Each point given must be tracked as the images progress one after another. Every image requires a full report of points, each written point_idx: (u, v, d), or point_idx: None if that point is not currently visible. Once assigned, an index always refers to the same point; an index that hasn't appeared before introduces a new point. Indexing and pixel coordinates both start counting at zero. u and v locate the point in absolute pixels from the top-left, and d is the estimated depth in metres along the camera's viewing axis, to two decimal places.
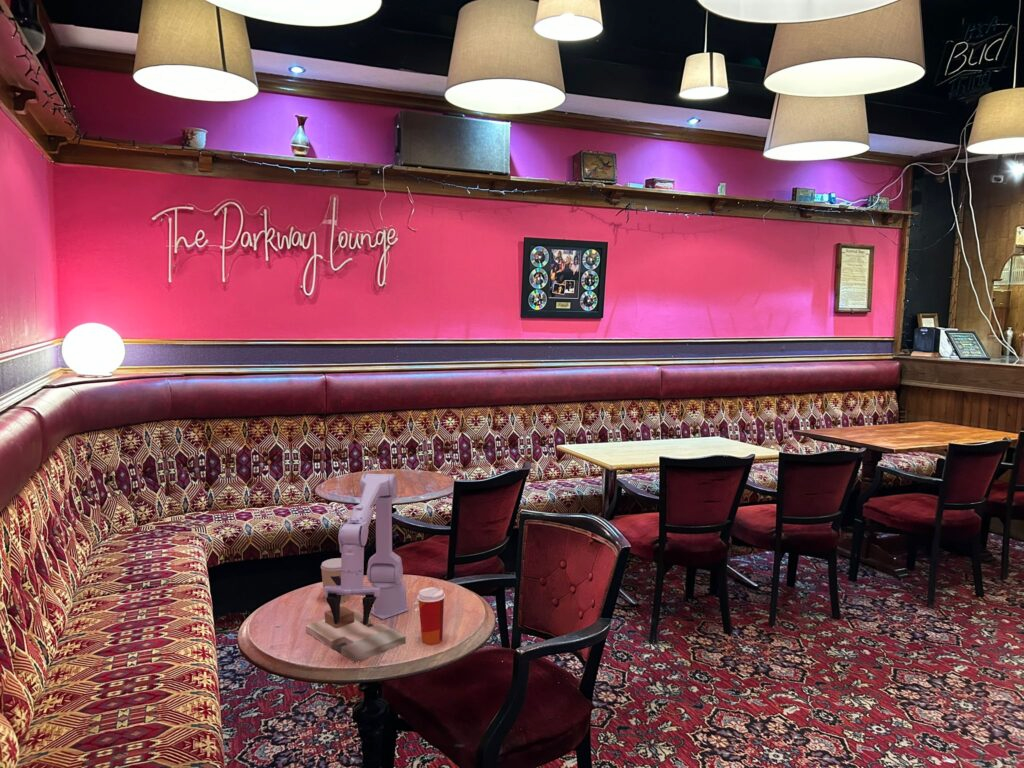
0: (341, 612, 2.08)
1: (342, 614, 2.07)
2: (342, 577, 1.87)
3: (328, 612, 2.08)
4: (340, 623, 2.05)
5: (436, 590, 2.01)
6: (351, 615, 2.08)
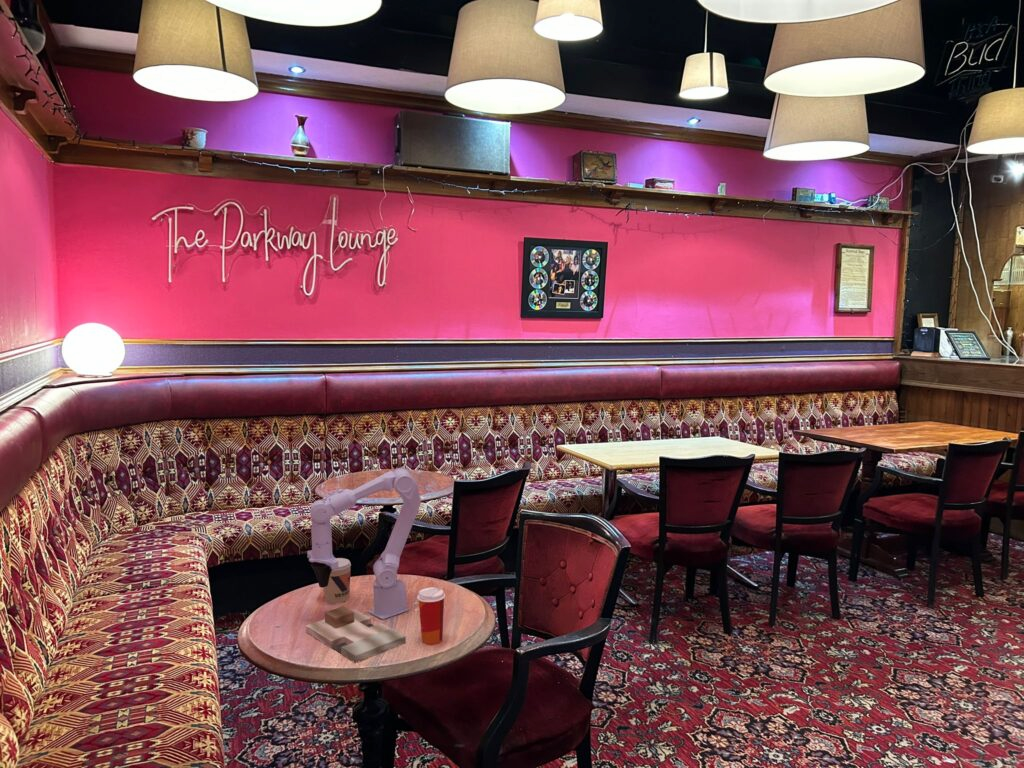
0: (341, 612, 2.08)
1: (342, 614, 2.07)
2: None
3: (328, 612, 2.08)
4: (340, 623, 2.05)
5: (436, 590, 2.01)
6: (351, 615, 2.08)
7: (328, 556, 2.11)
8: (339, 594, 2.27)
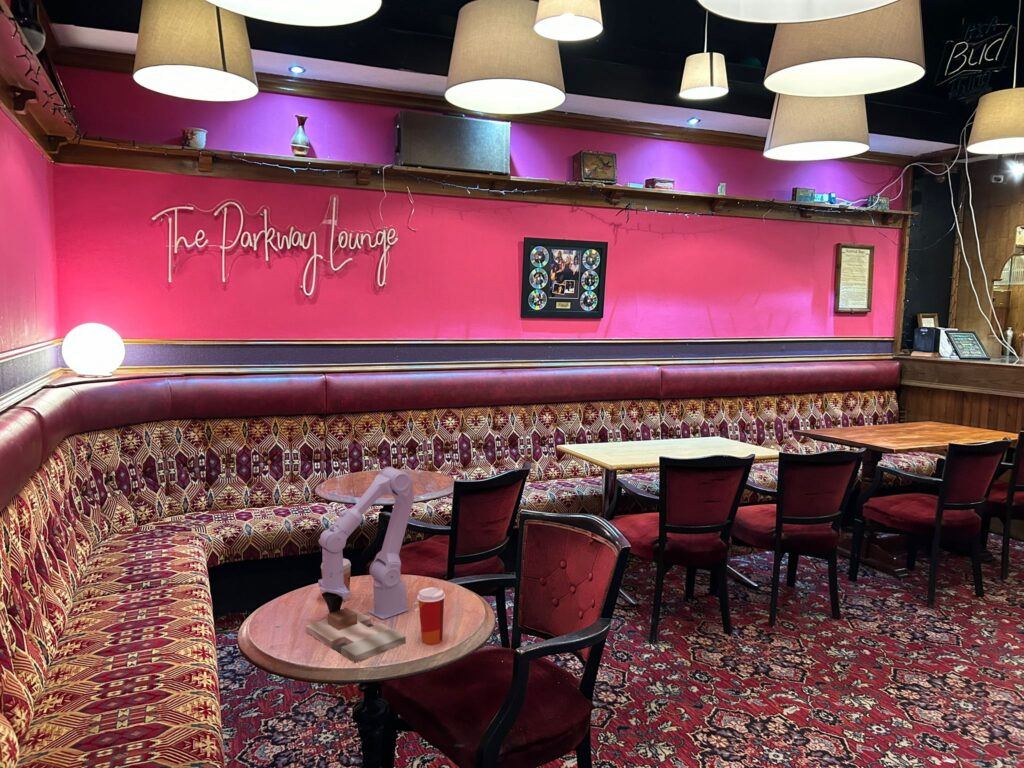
0: (344, 614, 2.07)
1: (345, 616, 2.06)
2: None
3: (331, 614, 2.07)
4: (343, 625, 2.04)
5: (436, 590, 2.01)
6: (354, 617, 2.07)
7: (339, 586, 2.08)
8: None
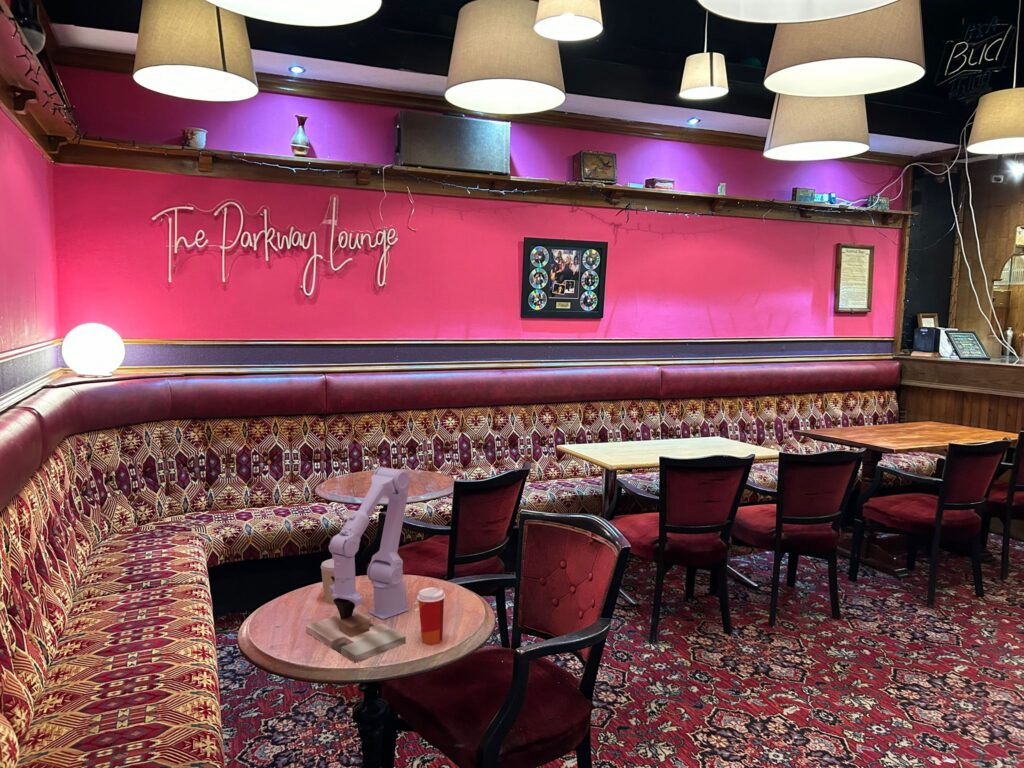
0: (356, 620, 2.02)
1: (357, 622, 2.01)
2: None
3: (343, 620, 2.03)
4: (355, 632, 2.00)
5: (436, 590, 2.01)
6: (366, 623, 2.02)
7: (351, 592, 2.03)
8: None
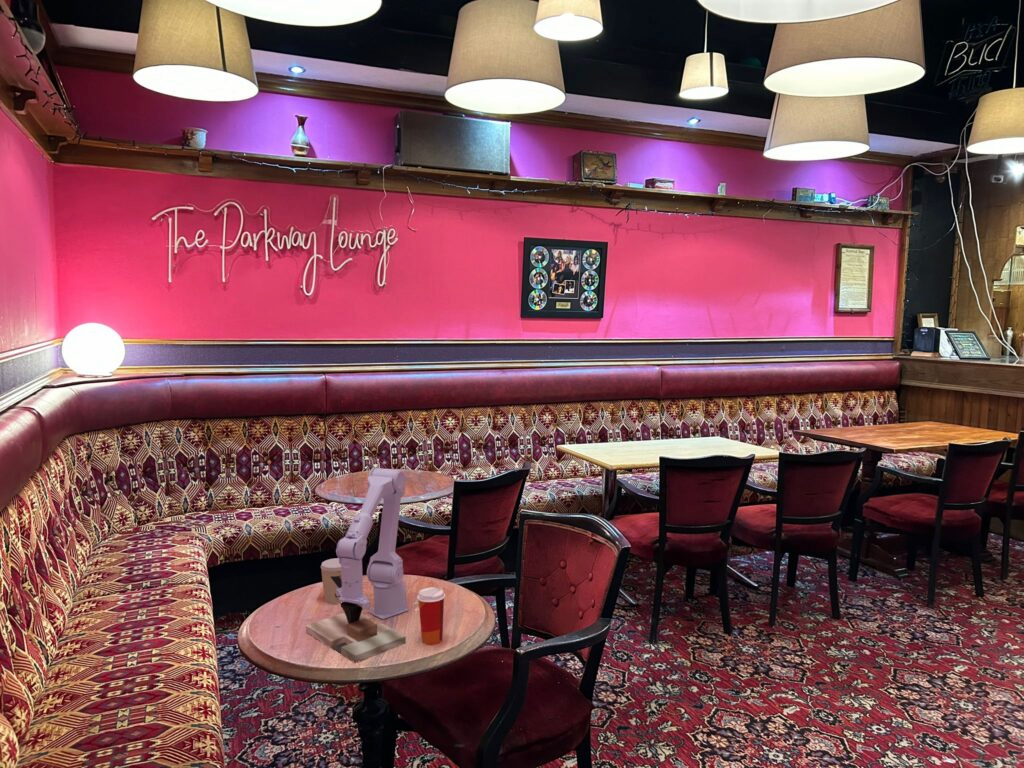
0: (363, 624, 2.00)
1: (365, 626, 1.99)
2: None
3: (350, 624, 2.00)
4: (363, 636, 1.97)
5: (436, 590, 2.01)
6: (374, 627, 2.00)
7: (359, 595, 2.01)
8: None
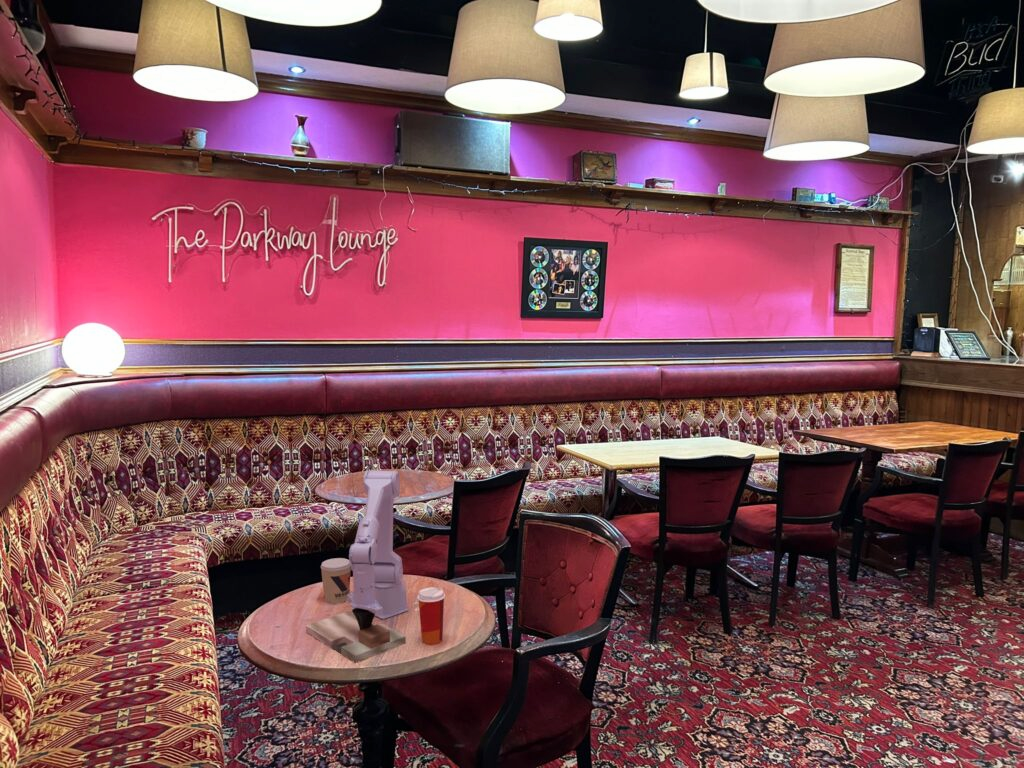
0: (376, 631, 1.96)
1: (377, 633, 1.94)
2: None
3: (362, 631, 1.96)
4: (375, 643, 1.93)
5: (436, 590, 2.01)
6: (387, 634, 1.95)
7: (371, 601, 1.96)
8: (339, 594, 2.27)
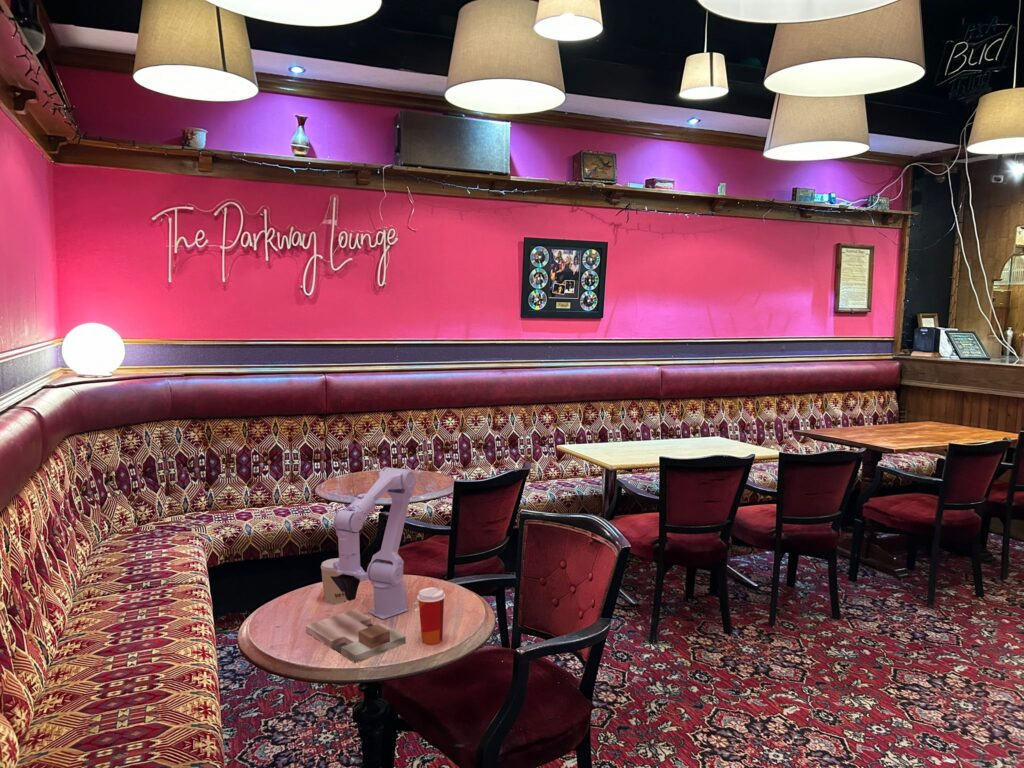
0: (376, 631, 1.96)
1: (377, 633, 1.94)
2: None
3: (362, 631, 1.96)
4: (375, 643, 1.93)
5: (436, 590, 2.01)
6: (387, 634, 1.95)
7: (356, 568, 2.02)
8: (339, 594, 2.27)
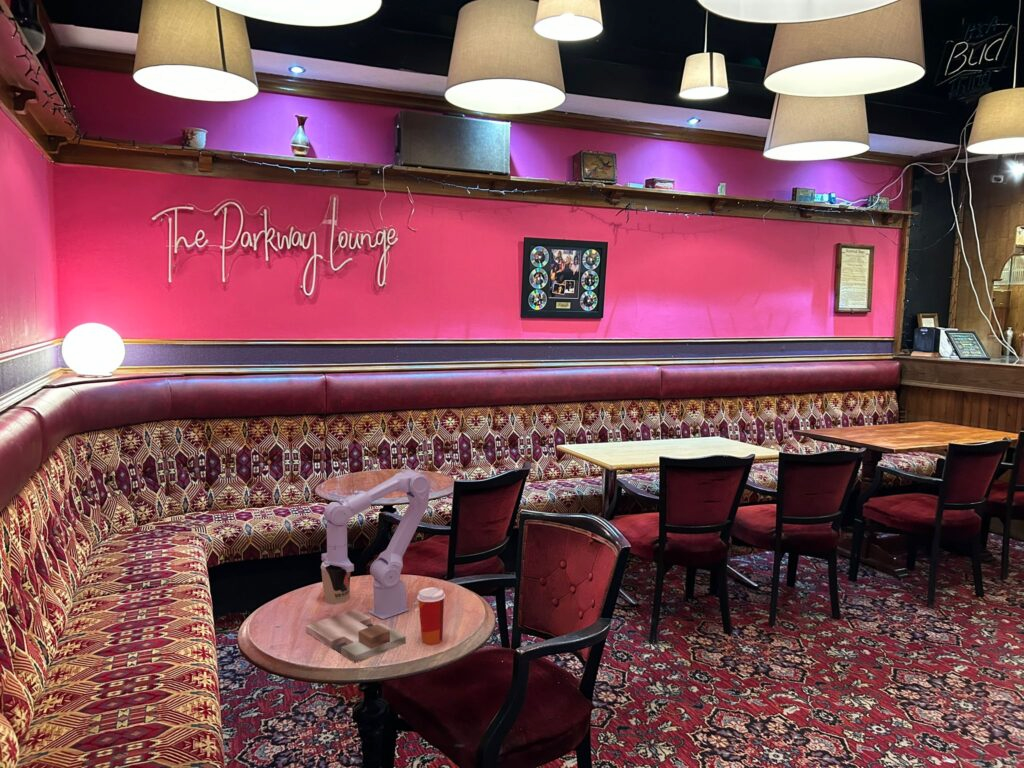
0: (376, 631, 1.96)
1: (377, 633, 1.94)
2: None
3: (362, 631, 1.96)
4: (375, 643, 1.93)
5: (436, 590, 2.01)
6: (387, 634, 1.95)
7: (343, 559, 2.09)
8: (339, 594, 2.27)
